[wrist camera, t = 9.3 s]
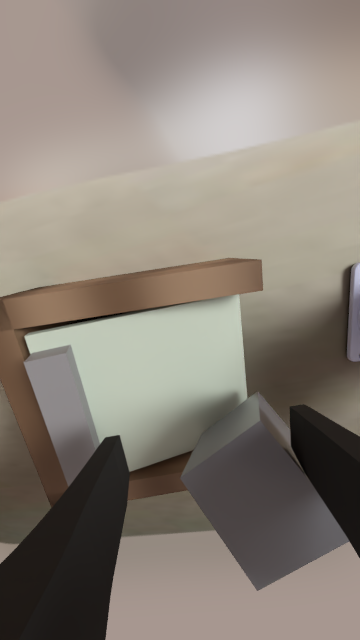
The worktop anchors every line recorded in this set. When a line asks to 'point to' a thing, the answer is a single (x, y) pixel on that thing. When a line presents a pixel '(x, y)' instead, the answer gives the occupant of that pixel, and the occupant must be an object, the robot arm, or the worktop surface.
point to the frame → (97, 300)
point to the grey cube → (259, 494)
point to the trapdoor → (138, 380)
